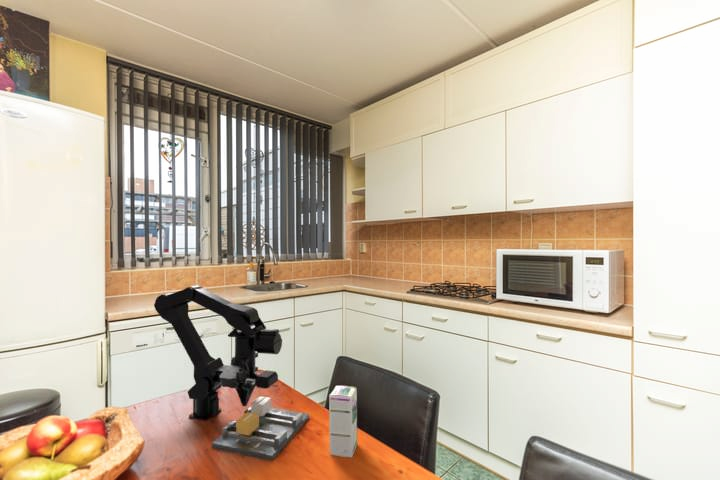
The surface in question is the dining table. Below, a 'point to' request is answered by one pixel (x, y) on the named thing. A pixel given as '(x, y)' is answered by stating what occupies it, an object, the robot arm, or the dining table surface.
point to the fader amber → (247, 423)
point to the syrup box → (343, 421)
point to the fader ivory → (261, 406)
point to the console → (262, 434)
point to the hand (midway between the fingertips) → (244, 405)
